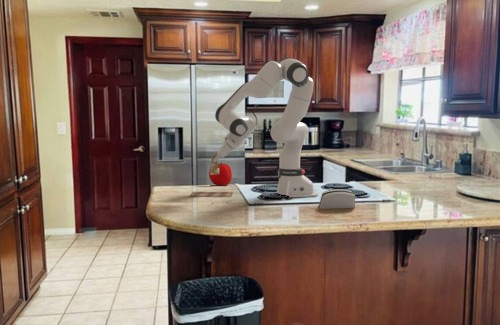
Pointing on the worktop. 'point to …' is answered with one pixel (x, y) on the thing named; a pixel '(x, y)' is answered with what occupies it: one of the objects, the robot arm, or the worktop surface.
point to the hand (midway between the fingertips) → (213, 160)
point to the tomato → (221, 175)
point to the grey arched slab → (337, 199)
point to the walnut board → (211, 194)
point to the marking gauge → (214, 166)
